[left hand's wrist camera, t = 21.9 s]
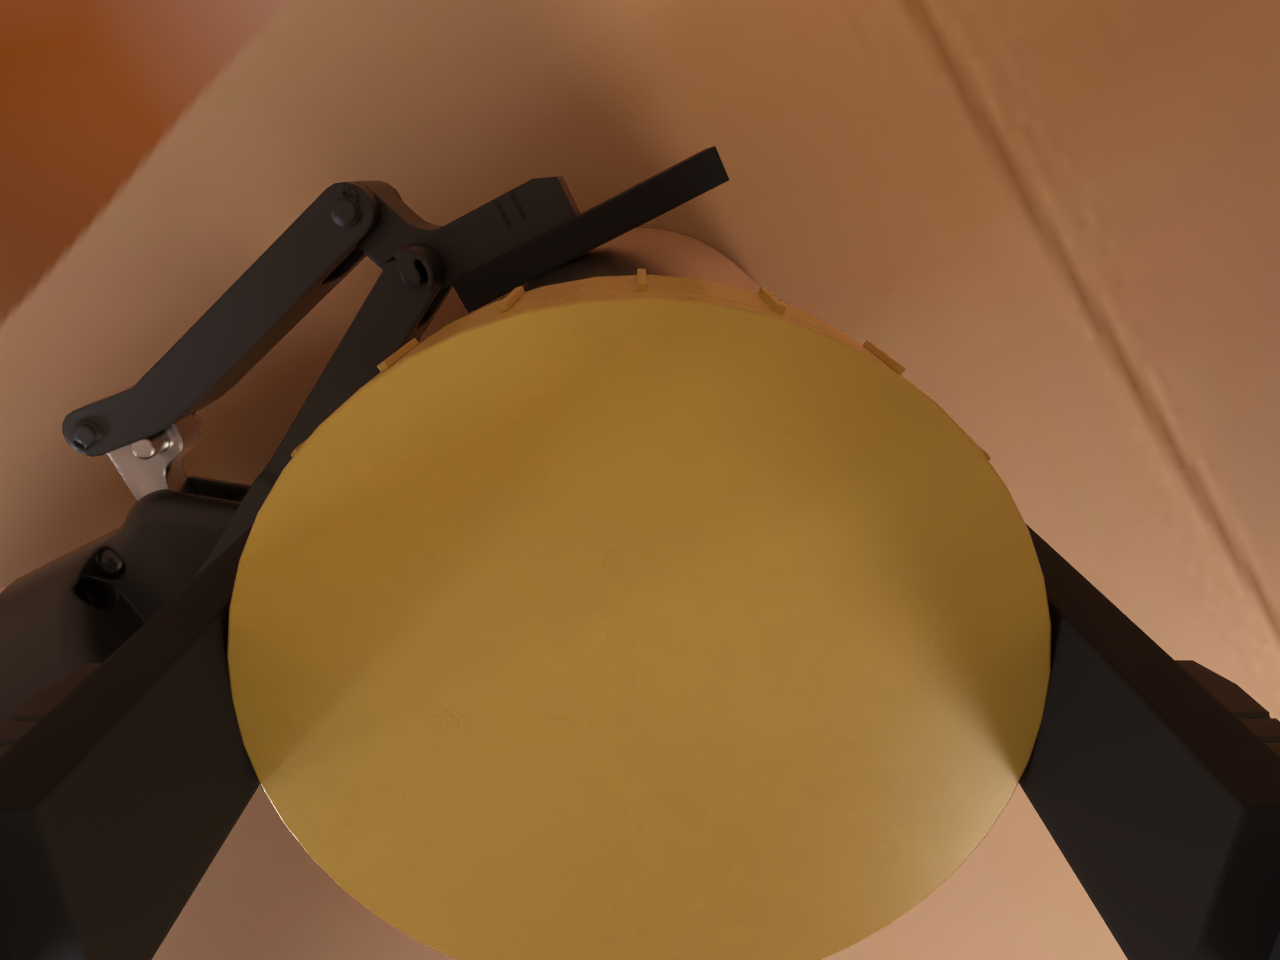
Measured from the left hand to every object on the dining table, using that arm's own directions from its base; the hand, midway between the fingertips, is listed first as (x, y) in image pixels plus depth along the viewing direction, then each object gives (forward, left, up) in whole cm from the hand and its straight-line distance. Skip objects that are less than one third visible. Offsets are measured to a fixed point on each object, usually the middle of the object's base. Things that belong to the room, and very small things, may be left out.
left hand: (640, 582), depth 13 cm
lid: (0, 0, +3) cm, 3 cm away
